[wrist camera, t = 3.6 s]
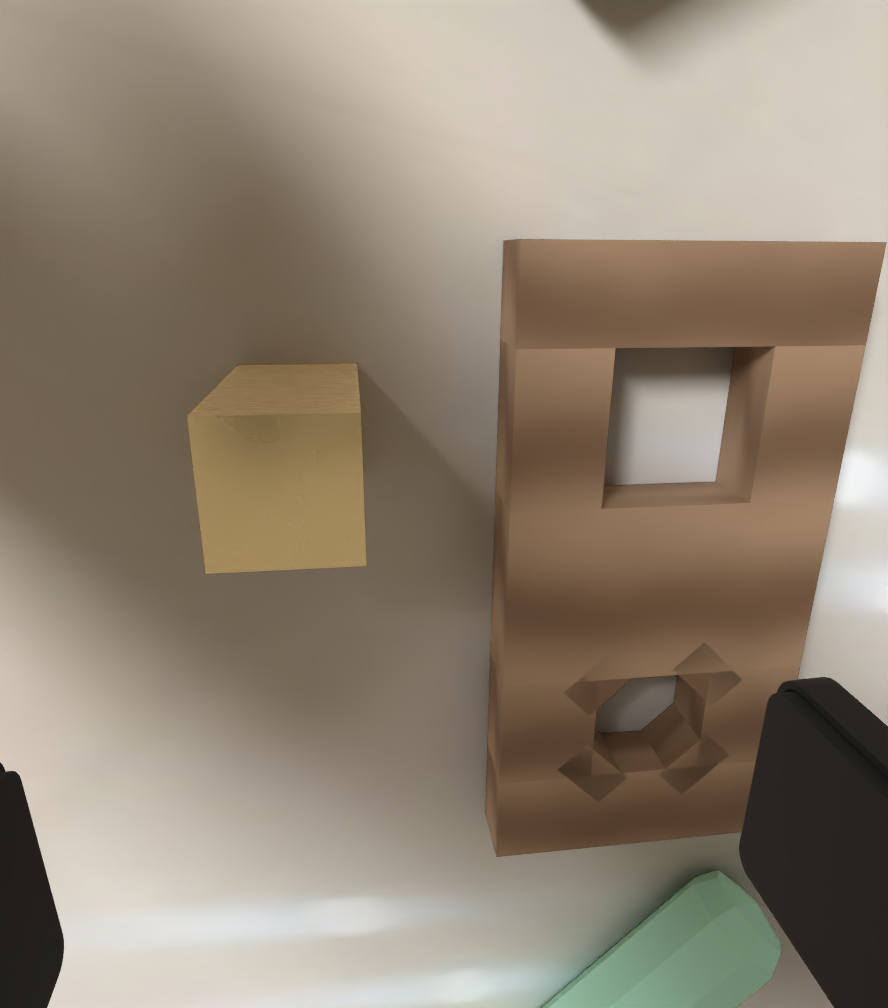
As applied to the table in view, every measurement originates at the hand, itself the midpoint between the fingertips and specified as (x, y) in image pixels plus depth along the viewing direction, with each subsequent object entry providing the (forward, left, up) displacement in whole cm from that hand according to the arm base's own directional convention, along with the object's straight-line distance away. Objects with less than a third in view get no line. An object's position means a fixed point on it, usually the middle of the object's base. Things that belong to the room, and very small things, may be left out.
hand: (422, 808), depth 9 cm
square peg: (-1, -3, -18) cm, 18 cm away
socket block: (+5, +10, -18) cm, 21 cm away
